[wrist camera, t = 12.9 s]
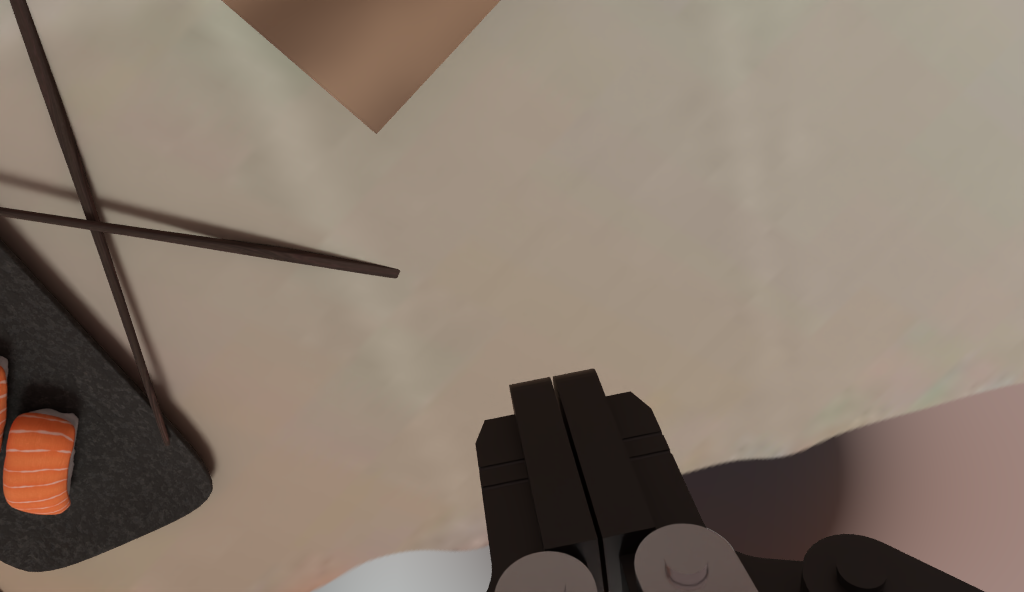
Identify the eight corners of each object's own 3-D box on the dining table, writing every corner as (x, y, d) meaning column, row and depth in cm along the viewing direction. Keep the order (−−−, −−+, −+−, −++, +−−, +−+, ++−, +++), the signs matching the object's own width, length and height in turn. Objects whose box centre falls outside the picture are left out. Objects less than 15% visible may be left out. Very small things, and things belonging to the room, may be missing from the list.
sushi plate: (-442, 165, 33) (-539, 200, 29) (145, -165, 29) (111, -168, 26) (40, 561, 47) (12, 614, 44) (471, 373, 43) (476, 415, 40)
